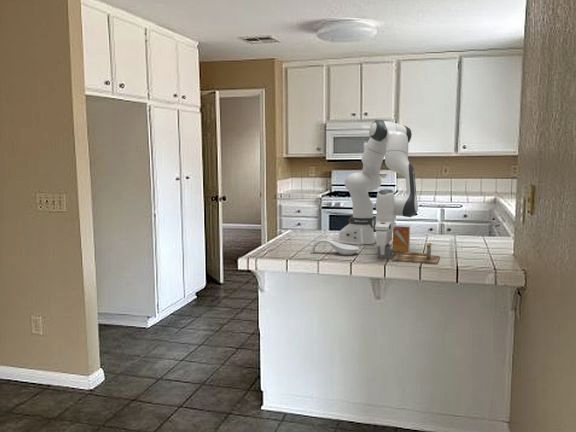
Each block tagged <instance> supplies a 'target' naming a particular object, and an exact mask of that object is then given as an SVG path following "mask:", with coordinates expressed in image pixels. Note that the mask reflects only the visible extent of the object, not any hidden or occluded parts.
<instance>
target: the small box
mask: <svg viewBox="0 0 576 432" xmlns="http://www.w3.org/2000/svg"><path fill="white" fill-rule="evenodd" d="M410 242H411V225H408V224H395V227H394V228H392V252H396V253H397V252H398V253H400V252H401V251H402V252H410V245H411V243H410Z"/></svg>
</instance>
